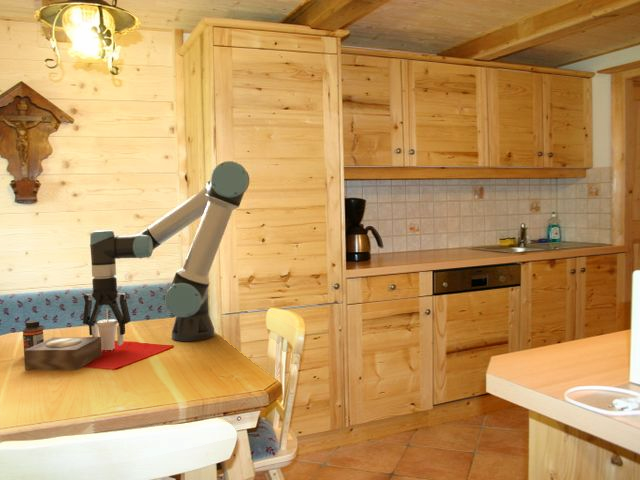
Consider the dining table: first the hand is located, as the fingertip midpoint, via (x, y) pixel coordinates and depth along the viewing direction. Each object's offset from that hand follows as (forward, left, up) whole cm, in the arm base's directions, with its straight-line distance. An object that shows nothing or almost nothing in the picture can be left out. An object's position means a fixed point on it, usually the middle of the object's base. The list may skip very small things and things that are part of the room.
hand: (108, 344), depth 191 cm
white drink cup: (0, 0, -2) cm, 2 cm away
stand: (+7, +15, -2) cm, 17 cm away
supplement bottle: (+22, +6, -2) cm, 23 cm away
